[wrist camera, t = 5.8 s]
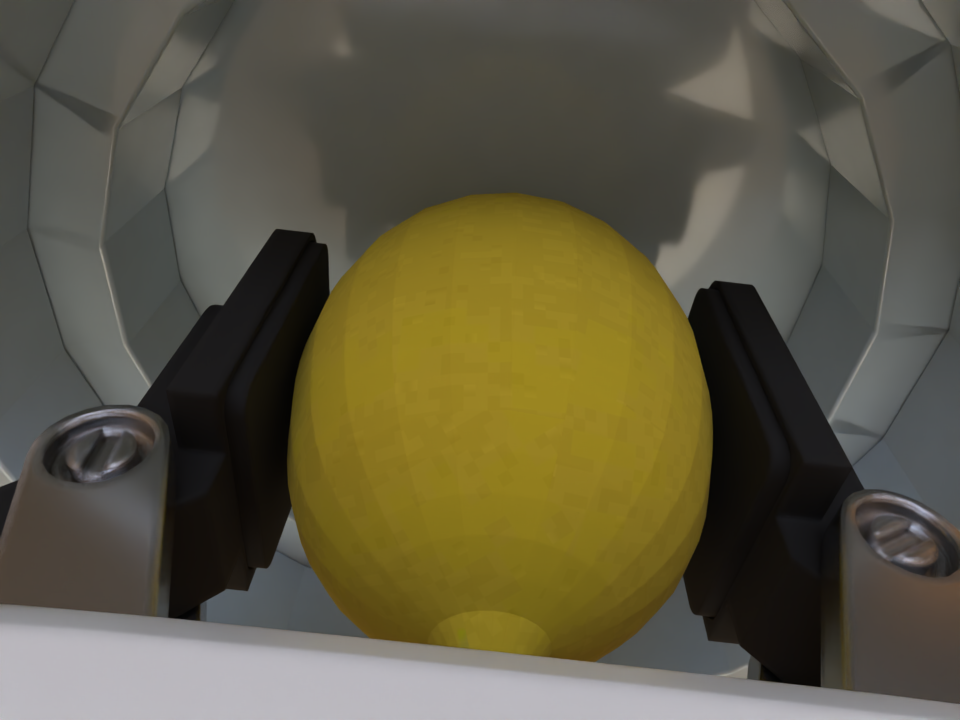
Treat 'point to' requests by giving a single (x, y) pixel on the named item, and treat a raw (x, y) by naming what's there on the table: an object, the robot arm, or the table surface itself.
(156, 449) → the robot arm
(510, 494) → the lemon
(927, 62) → the bowl
